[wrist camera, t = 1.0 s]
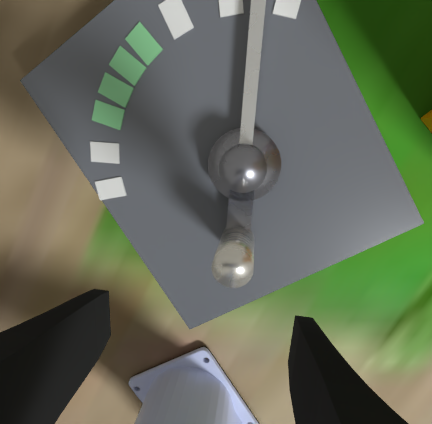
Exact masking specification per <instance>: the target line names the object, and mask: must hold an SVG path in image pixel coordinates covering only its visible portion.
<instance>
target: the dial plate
mask: <svg viewBox="0 0 432 424" xmlns="http://www.w3.org/2000/svg"><path fill="white" fill-rule="evenodd" d="M250 7H251V0H114V1H113V2H112V3H111V4H109V5H108V6H107V7H106V8H105V9H104V10H102V11H101V12H100V13H99V14H98V15H96V16H95V17H94V18H93V19H92V20H91V21H89V22H88V23H87V24H86V25H85V26H84V27H82V28H81V29H80V30H79V31H78V32H76V33H75V34H74V35H73V36H72V37H71V38H69V39H68V40H67V41H66V42H65V43H64V44H62V45H61V46H60V47H59V48H58V49H57V50H55V51H54V52H53V53H52V54H51V55H49V56H48V57H47V58H46V59H45V60H44V61H42V62H41V63H40V64H39V65H38V66H37V67H35V68H34V69H33V70H32V71H31V72H29V73H28V74H27V75H26V76H25V77H24V78H22V79H21V80H20V81H21V83H22V84H23V86H24V87H25V88H26V90H27V91H28V93H29V94H30V96H31V97H32V99H33V100H34V102H35V103H36V105H37V106H38V108H39V109H40V110H41V112H42V113H43V115H44V116H45V118H46V119H47V121H48V122H49V124H50V125H51V127H52V128H53V130H54V131H55V132H56V134H57V135H58V137H59V138H60V140H61V141H62V143H63V144H64V146H65V147H66V149H67V150H68V151H69V153H70V154H71V156H72V157H73V159H74V160H75V162H76V163H77V165H78V166H79V168H80V169H81V171H82V172H83V173H84V175H85V176H86V178H87V179H88V181H89V182H90V184H91V185H92V187H93V188H94V190H95V191H96V193H97V194H98V195H99V198H100V200H102V201H103V203H104V204H105V206H106V207H107V209H108V210H109V212H110V213H111V215H112V216H113V217H114V219H115V220H116V222H117V223H118V225H119V226H120V228H121V229H122V231H123V232H124V234H125V235H126V237H127V238H128V239H129V241H130V242H131V244H132V245H133V247H134V248H135V250H136V251H137V253H138V254H139V256H140V257H141V259H142V260H143V261H144V263H145V264H146V266H147V267H148V269H149V270H150V272H151V273H152V275H153V276H154V278H155V279H156V281H157V282H158V283H159V285H160V286H161V288H162V289H163V291H164V292H165V294H166V295H167V297H168V298H169V300H170V301H171V303H172V304H173V305H174V307H175V308H176V310H177V311H178V313H179V314H180V316H181V317H182V319H183V320H184V322H185V323H186V325H187V326H188V327H189V329H192V328H194V327H196V326H198V325H201V324H203V323H205V322H207V321H209V320H212V319H214V318H216V317H218V316H221V315H223V314H225V313H227V312H229V311H232V310H234V309H236V308H238V307H240V306H243V305H245V304H247V303H249V302H251V301H254V300H256V299H258V298H260V297H263V296H265V295H267V294H269V293H271V292H274V291H276V290H278V289H280V288H282V287H285V286H287V285H289V284H291V283H293V282H296V281H298V280H300V279H302V278H304V277H307V276H309V275H311V274H313V273H316V272H318V271H320V270H322V269H324V268H327V267H329V266H331V265H333V264H335V263H338V262H340V261H342V260H344V259H346V258H349V257H351V256H353V255H355V254H357V253H360V252H362V251H364V250H366V249H369V248H371V247H373V246H375V245H377V244H380V243H382V242H384V241H386V240H388V239H391V238H393V237H395V236H397V235H399V234H402V233H404V232H406V231H408V230H411V229H413V228H415V227H417V226H419V225H422V224H424V222H423V220H422V218H421V216H420V214H419V212H418V210H417V208H416V205H415V203H414V201H413V199H412V197H411V195H410V193H409V191H408V189H407V187H406V185H405V183H404V181H403V179H402V177H401V174H400V172H399V170H398V168H397V166H396V164H395V162H394V160H393V158H392V156H391V154H390V152H389V150H388V148H387V146H386V143H385V141H384V139H383V137H382V135H381V133H380V131H379V129H378V127H377V125H376V123H375V121H374V119H373V117H372V114H371V112H370V110H369V108H368V106H367V104H366V102H365V100H364V98H363V96H362V94H361V92H360V90H359V88H358V86H357V83H356V81H355V79H354V77H353V75H352V73H351V71H350V69H349V67H348V65H347V63H346V61H345V59H344V57H343V55H342V52H341V50H340V48H339V46H338V44H337V42H336V40H335V38H334V36H333V34H332V32H331V30H330V28H329V26H328V23H327V21H326V19H325V17H324V15H323V13H322V11H321V9H320V7H319V5H318V3H317V1H316V0H266V7H265V17H264V28H263V39H262V49H261V60H260V71H259V81H258V92H257V102H256V113H255V124H254V129H256V130H259V131H261V132H263V133H265V134H266V135H267V136H269V137H270V138H271V139H272V140H273V142H274V143H275V144H276V146H277V148H278V150H279V153H280V157H281V172H280V176H279V178H278V180H277V183H276V184H275V186H274V187H273V188H272V189H271V190H270V191H269V192H268V193H267V194H266V195H264V196H262V197H261V198H258V199H256V200H253V210H252V220H251V231H252V232H253V234H254V268H253V275H252V278H251V279H250V281H249V282H248V283H247V284H245V285H244V286H242V287H238V288H229V287H225V286H223V285H221V284H220V283H219V282H218V281H217V280H216V279H215V278H214V276H213V273H212V262H213V259H214V256H215V253H216V250H217V248H218V245H219V242H220V239H221V236H222V233H223V231H224V230H225V229H226V227H227V214H228V200H229V198H228V197H226V196H224V195H223V194H222V193H220V192H219V191H218V190H217V189H216V187H215V186H214V184H213V183H212V181H211V178H210V176H209V172H208V158H209V154H210V151H211V149H212V147H213V145H214V144H215V142H216V141H217V140H218V139H219V138H220V137H221V136H222V135H224V134H225V133H227V132H229V131H231V130H234V129H237V128H241V117H242V105H243V92H244V80H245V68H246V56H247V44H248V31H249V19H250Z"/></svg>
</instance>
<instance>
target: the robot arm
mask: <svg viewBox="0 0 432 424" xmlns="http://www.w3.org/2000/svg"><path fill="white" fill-rule="evenodd" d="M110 335H111V329H110V309H109V291H105V290H98V289H93V290H90V291H88V292H86V293H84V294H82V295H79V296H77V297H75V298H73V299H71V300H69V301H67V302H65V303H63V304H61V305H59V306H57V307H55V308H53V309H51V310H49V311H47V312H45V313H43V314H41V315H39V316H36V317H34V318H32V319H30V320H28V321H25V322H23V323H21V324H19V325H17V326H14V327H12V328H10V329H7V330H5V331H3V332H0V424H55V422H56V421H57V419H58V417H59V416H60V414H61V413H62V411H63V410H64V409H65V407H66V406H67V404H68V403H69V401H70V400H71V398H72V397H73V396H74V394H75V393H76V391H77V390H78V388H79V387H80V385H81V384H82V383H83V381H84V380H85V378H86V377H87V375H88V374H89V372H90V371H91V369H92V368H93V366H94V365H95V363H96V362H97V360H98V359H99V357H100V355H101V353H102V351H103V350H104V348H105V346H106V344H107V342H108V340H109V338H110ZM205 358H208V360H207V359H205ZM288 369H289V386H290V394H291V400H292V406H293V412H294V417H295V423H296V424H408V423H407V422H406V421H405V420H404V419H402V418H401V417H400V416H399V415H398V414H397V413H396V412H395V411H394V410H392V409H391V408H390V407H389V406H388V405H387V404H386V403H385V402H384V401H383V400H382V399H381V398H380V397H379V396H378V395H377V394H376V393H375V392H374V391H373V390H372V389H371V388H370V387H369V386H368V385H367V384H366V383H365V382H364V381H363V380H362V379H361V378H360V376H359V375H358V374H357V373H356V372H355V371H354V370H353V369H352V368H351V366H350V365H349V364H348V363H347V362H346V360H345V359H344V358H343V357H342V356H341V354H340V353H339V352H338V351H337V349H336V348H335V347H334V346H333V344H332V343H331V342H330V340H329V339H328V338H327V336H326V335H325V334H324V332H323V331H322V330H321V328H320V327H319V326H318V324H317V323H316V322H315V320H314V319H313V318H310V317H303V316H295V320H294V327H293V333H292V339H291V346H290V352H289V359H288ZM129 386H130V387H131V389H132V390H133V391H134V393H135V394H136V395H137V397H138V398H139V399H140V401H141V402H142V403H143V404H142V407H141V409H140V411H139V414H138V416H137V418H136V421H135V423H134V424H259V423H258V422H257V420H256V419H255V417H254V416H253V414H252V413H251V411H250V410H249V408H248V407H247V406H246V404H245V403H244V401H243V400H242V398H241V397H240V395H239V394H238V392H237V391H236V389H235V388H234V386H233V385H232V383H231V382H230V380H229V379H228V378H227V376H226V375H225V373H224V372H223V370H222V369H221V367H220V366H219V364H218V363H217V361H216V360H215V358H214V357H213V355H212V354H211V352H210V351H209V350H208V349H207V348H205V347H201V348H198V349H196V350H194V351H191V352H189V353H187V354H184V355H182V356H180V357H177V358H175V359H173V360H170V361H168V362H166V363H163V364H161V365H159V366H157V367H154V368H152V369H150V370H147V371H145V372H143V373H140V374H138V375H136V376H133V377H131V378H130V380H129ZM250 422H251V423H250Z"/></svg>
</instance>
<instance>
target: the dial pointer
mask: <svg viewBox="0 0 432 424" xmlns="http://www.w3.org/2000/svg"><path fill="white" fill-rule="evenodd" d="M265 7H266V0H251V7H250V19H249V31H248V44H247V56H246V68H245V80H244V92H243V105H242V117H241V128H237V129H234V130H231V131H229V132H227V133H225V134H224V135H222V136H221V137H220V138H219V139H218V140H217V141H216V142H215V144H214V145H213V147H212V149H211V151H210V154H209V158H208V172H209V176H210V178H211V181H212V183H213V184H214V186H215V187H216V189H217V190H218V191H219V192H220V193H222V194H223V195H224V196H226V197H228V198H229V200H228V214H227V227H226V229H225V230H224V231H223V233H222V236H221V239H220V242H219V245H218V248H217V250H216V253H215V256H214V259H213V262H212V273H213V276H214V278H215V279H216V280H217V281H218V282H219V283H220V284H221V285H223V286H225V287H229V288H238V287H242V286H244V285H245V284H247V283H248V282H249V281H250V279H251V278H252V275H253V268H254V234H253V232H252V231H251V220H252V210H253V200H256V199H258V198H261V197H262V196H264V195H266V194H267V193H268V192H269V191H270V190H271V189H272V188H273V187H274V186H275V184H276V183H277V180H278V178H279V176H280V172H281V157H280V153H279V150H278V148H277V146H276V144H275V143H274V142H273V140H272V139H271V138H270V137H269V136H267V135H266V134H265V133H263V132H261V131H259V130H256V129H254V124H255V113H256V102H257V92H258V81H259V71H260V60H261V49H262V39H263V28H264V17H265Z"/></svg>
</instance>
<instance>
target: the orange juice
mask: <svg viewBox="0 0 432 424" xmlns="http://www.w3.org/2000/svg"><path fill="white" fill-rule="evenodd" d="M420 119H421V120H422V122H423V123H424V124H425V125H426V127H427V128H428V129H429V131H430V132H431V133H432V110H430V111H429V112H428V113H427V114H425V115H424V116H423V117H421V118H420Z"/></svg>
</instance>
